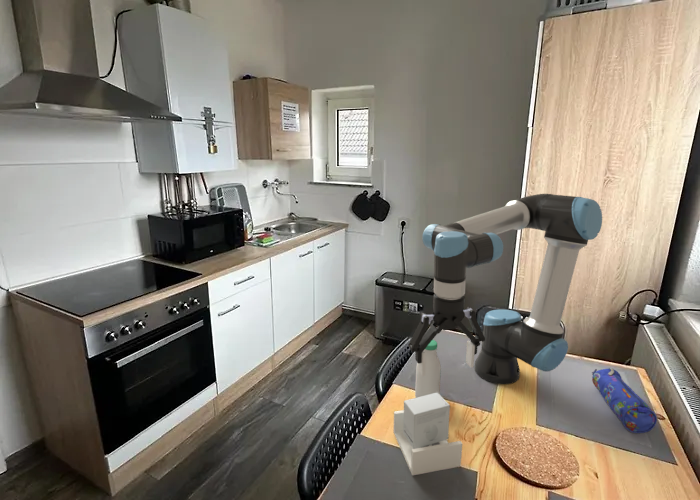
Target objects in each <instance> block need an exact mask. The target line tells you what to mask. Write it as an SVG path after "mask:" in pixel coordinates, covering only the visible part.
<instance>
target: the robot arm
mask: <svg viewBox="0 0 700 500" xmlns="http://www.w3.org/2000/svg"><path fill="white" fill-rule="evenodd" d="M602 224H603V212H602V209H601V206H600V204H599V202H597V201H596V200H594V199H592V198H587V197H582V196H573V195H561V194H552V193H539V194H532V195H528V196H523V197H521V198H517V199H514V200H510V201H508V202H507V203H506V204H505V206H502V207H498V208H495V209H492V210H490V211H486V212H483V213H479V214H476V215H474V216H470V217H467V218H464V219H461V220H459V221H455V222H453V223H452V222H451V223H447V224H444V225H442V224H439V223H437V224H436V223H431V224H429V225H427V226H426V227H425V228H424V230H423V233H422V242H423V243H422V244H423V245H424V246H425V248H427V249H429V250H431V251H433V253H434V255H433V256H434V257H433V258H434V262H433V263H434V268H433V270H434V271H433V272H434V273H433V275H434V276H433V293H434V294H433V295H432V297H433V298H432V299H433V301H432V303H433V304H432V307H433V311H432V313H431V314H426V313H425V312H422V313H421V314H420V321H419V323H418V325H417V327H416V328H415V331H414V333H413V334H412V337H411V339H410V341H409V343H408V348H409V349H410V351H411V352H412V353H415V355H414V356H415V358H414V359H415V361H416V364H417V363H418V370H419V372H420V373H421V375H422V376H424V375H425V357H426V353H425V352H424V349H425V348H426V347H427V346H428V345H429V343H430V342H431V341H432V340H434V339H435V338H436V337H437V335H438V334H440V333H441V332H442V330H443V331H447V330H448V331H449V330H455V329H456V328H457V327H458V328H459V329H460V331H461V332H463V333H464V335H466V337H467V338H468V339H469V340H467V341H466V352H465V354H466V356H465V363H466V364H467V365H468V366H469V368H471V369H473V368H474V371H475V373H476V374H477V376H479V377H480V378H482V379H483V380H485V381H487V382H490V383H494V384H497V385H511V384H514V383H516V382H517V381H519V378H520V373H521V372H520V371H521V370H520V365H519V361H518V360H520V361H522V362H524V363H525V364H527V365H529V366H531V367H533V368H536V369H537V370H540V371H542V372H552V371H553V370H555V369H556V368H558V366H559V365H560V364H561V363H562V362H563V361H564V360H565V357H566V356H567V354H568V351H569V344H568V341H567V340H566V339H565V338H563V335H564V329H563V327H562V326H561V321H562V317H563V313H564V310H565V306H566V302H567V298H568V295H569V290H570V286H571V283H572V279H573V275H574V272H575V267H576V265H577V261H578V257H579V254H580V253H579V252H580V250H581V249H583V248H584V247H586V246H587V245H588V243H589V241H591V240H592V241H593V240H594V239H596V238H597V237H598V236H599V233H600V232H601V229H602V226H603V225H602ZM524 229H532V230H533V229H534V230H540V231H543V232H544V236H543V238H544V239H545V241H546V242H547V246H546V250H545V254H544V258H543V263H542V267H541V270H540V275H539V277H538V282H537V286H536V290H535V294H534V298H533V302H532V307H531V311H530V313H529V314H530V315H529V316H528V317H526V318H523V321H522V315H521V314H520V312H518V311H515V310H510V309H493V310H489V311H488V312H486V313H485V315H484V319H483V323H482V324H483V325H482V329H481V327H480V325H479V323H478V320H477V317H476V311H475V310H474V309H473V308H471V307H470V306H467V307H466V309H465V301H466V300H465V299H466V297H465V294H466V278H467V270H468V269H470V268H473V267H478V266H481V265H484V264H490V263H491V262H495V261H496V260H498V259H500V258H501V257H502V255H503V252H504V243H503V241H502V239H501V237H500V236H499V234H500V235H501V234H503V233H506V232H508V231H511V230H516V231H520V230H524ZM465 317H466V318H467V319H468V322H469V324H470V326H471V328H472V330H473V332H474V334H475V335H473V334H472V333H471V331H470V330H469V329H468V328H467V327H466V326H465V325H464V324H463V323H462V321H463V319H464V318H465ZM429 325H430V326H429ZM428 327H429V328H428ZM480 345H481V349H480V352H479V353H478V347H480ZM477 353H478V356H477V358H476V360H475V355H477Z"/></svg>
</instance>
